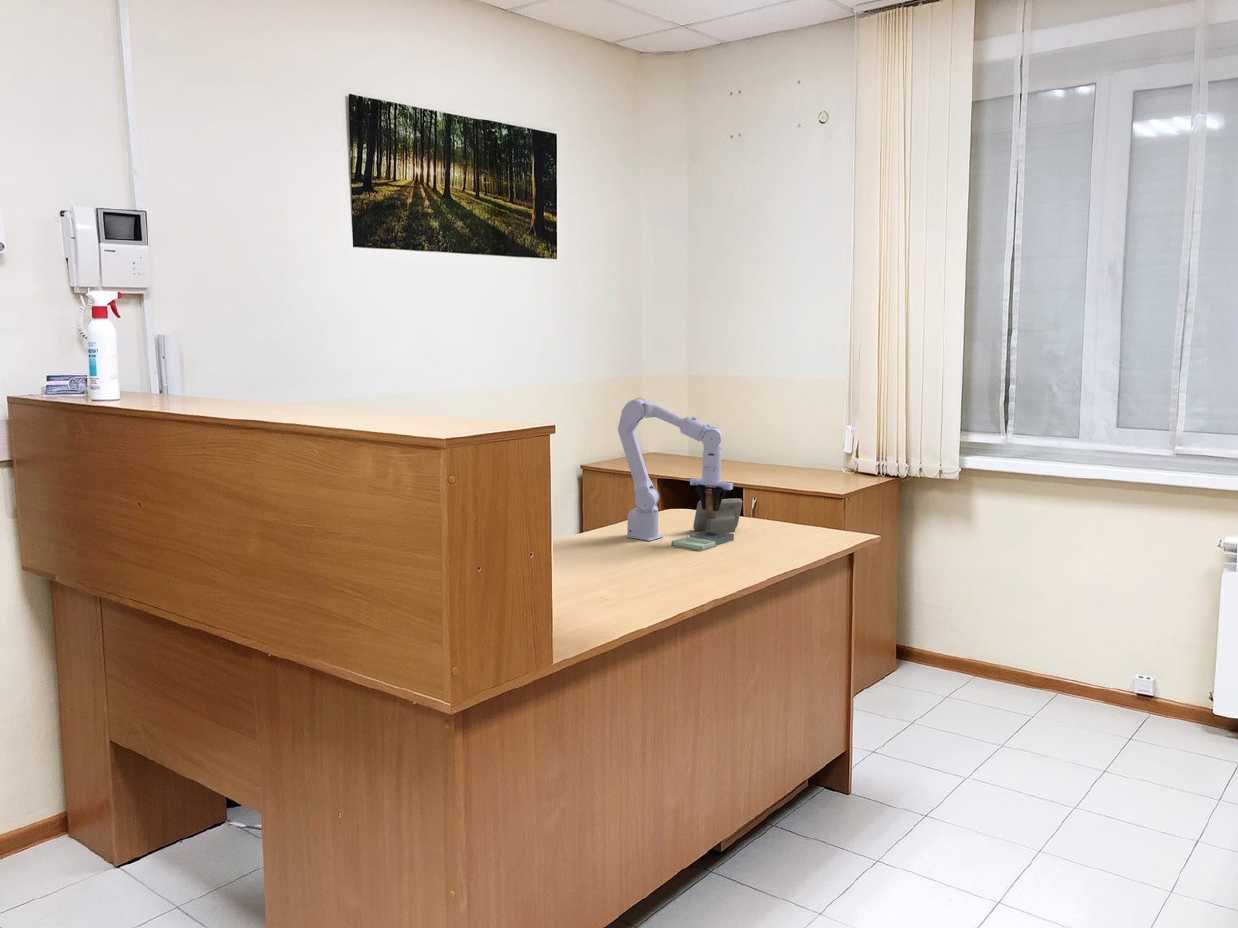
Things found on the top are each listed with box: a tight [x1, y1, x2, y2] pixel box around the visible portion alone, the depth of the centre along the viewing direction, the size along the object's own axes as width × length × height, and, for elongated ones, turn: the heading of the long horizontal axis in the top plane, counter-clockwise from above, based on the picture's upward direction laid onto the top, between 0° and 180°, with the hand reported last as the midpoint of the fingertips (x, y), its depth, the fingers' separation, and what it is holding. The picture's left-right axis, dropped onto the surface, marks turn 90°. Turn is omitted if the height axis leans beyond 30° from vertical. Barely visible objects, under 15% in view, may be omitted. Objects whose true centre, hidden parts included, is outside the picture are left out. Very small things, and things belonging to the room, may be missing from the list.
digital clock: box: [692, 498, 743, 533], centre depth 325 cm, size 16×9×11 cm, turn 98°
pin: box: [705, 488, 716, 519], centre depth 308 cm, size 4×4×9 cm
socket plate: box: [689, 530, 735, 547], centre depth 310 cm, size 10×10×2 cm
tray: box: [671, 536, 717, 552], centre depth 303 cm, size 11×8×2 cm
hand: (710, 510), depth 308 cm, fingers closed on pin, 3 cm apart
